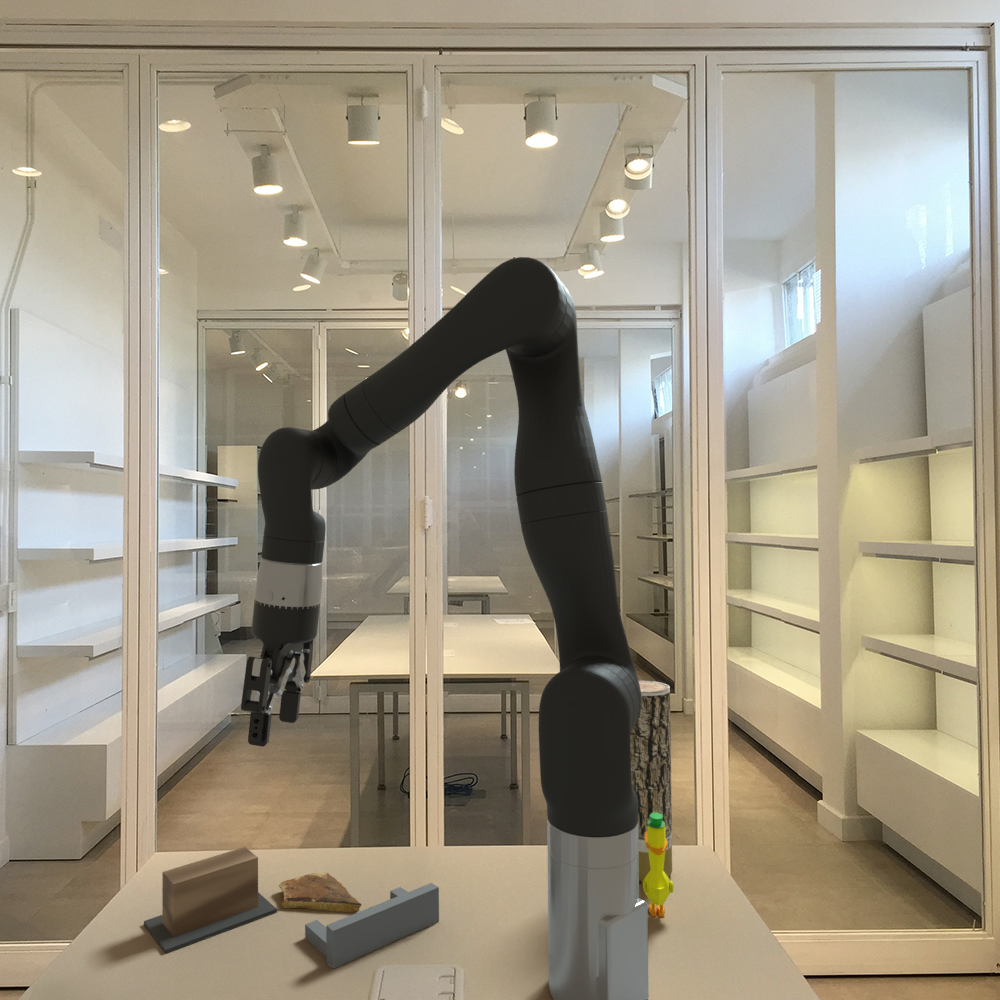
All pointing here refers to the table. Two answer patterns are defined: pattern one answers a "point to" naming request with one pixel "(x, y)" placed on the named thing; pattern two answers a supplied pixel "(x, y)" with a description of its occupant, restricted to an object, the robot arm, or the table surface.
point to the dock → (375, 925)
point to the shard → (317, 893)
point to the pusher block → (209, 890)
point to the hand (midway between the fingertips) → (273, 732)
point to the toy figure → (656, 865)
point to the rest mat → (205, 927)
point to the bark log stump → (652, 767)
